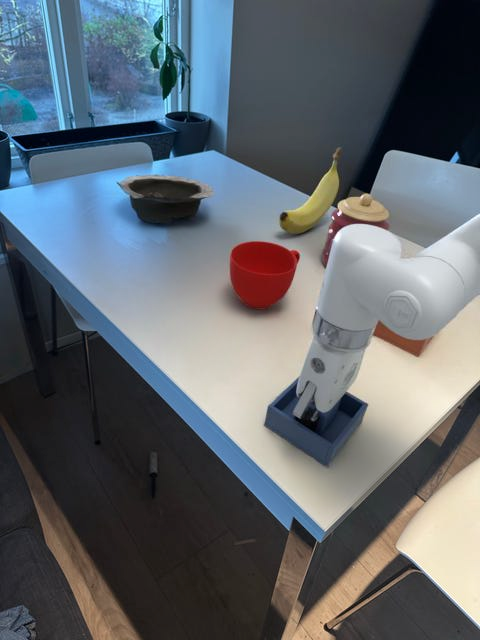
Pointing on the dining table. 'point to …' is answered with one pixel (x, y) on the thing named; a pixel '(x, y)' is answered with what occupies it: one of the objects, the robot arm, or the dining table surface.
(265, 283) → the ceramic cup
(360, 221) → the kitchen canister
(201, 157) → the dining table surface
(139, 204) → the stone bowl
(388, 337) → the terracotta bin
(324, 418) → the block
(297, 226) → the banana
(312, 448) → the slate bin
